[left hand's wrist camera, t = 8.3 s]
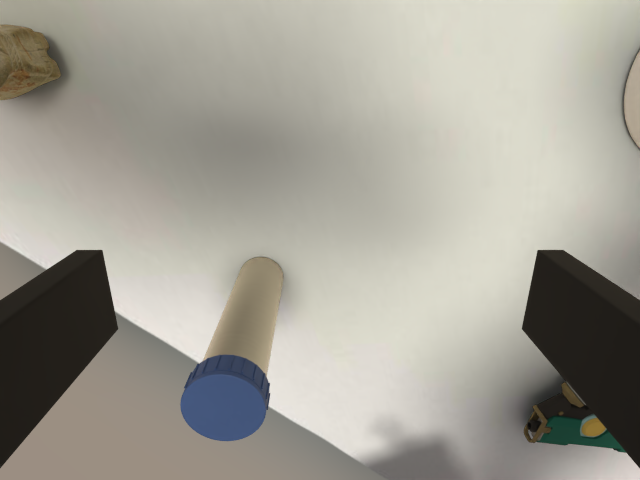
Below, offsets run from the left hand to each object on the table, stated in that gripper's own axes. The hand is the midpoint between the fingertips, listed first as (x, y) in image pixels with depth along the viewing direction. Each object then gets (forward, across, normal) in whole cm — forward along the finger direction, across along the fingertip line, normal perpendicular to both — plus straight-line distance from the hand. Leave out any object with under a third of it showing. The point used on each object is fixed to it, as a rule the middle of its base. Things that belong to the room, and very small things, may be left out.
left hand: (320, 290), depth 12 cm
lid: (+9, +6, +12) cm, 16 cm away
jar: (+27, +6, +12) cm, 30 cm away
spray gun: (+27, -33, +28) cm, 51 cm away
